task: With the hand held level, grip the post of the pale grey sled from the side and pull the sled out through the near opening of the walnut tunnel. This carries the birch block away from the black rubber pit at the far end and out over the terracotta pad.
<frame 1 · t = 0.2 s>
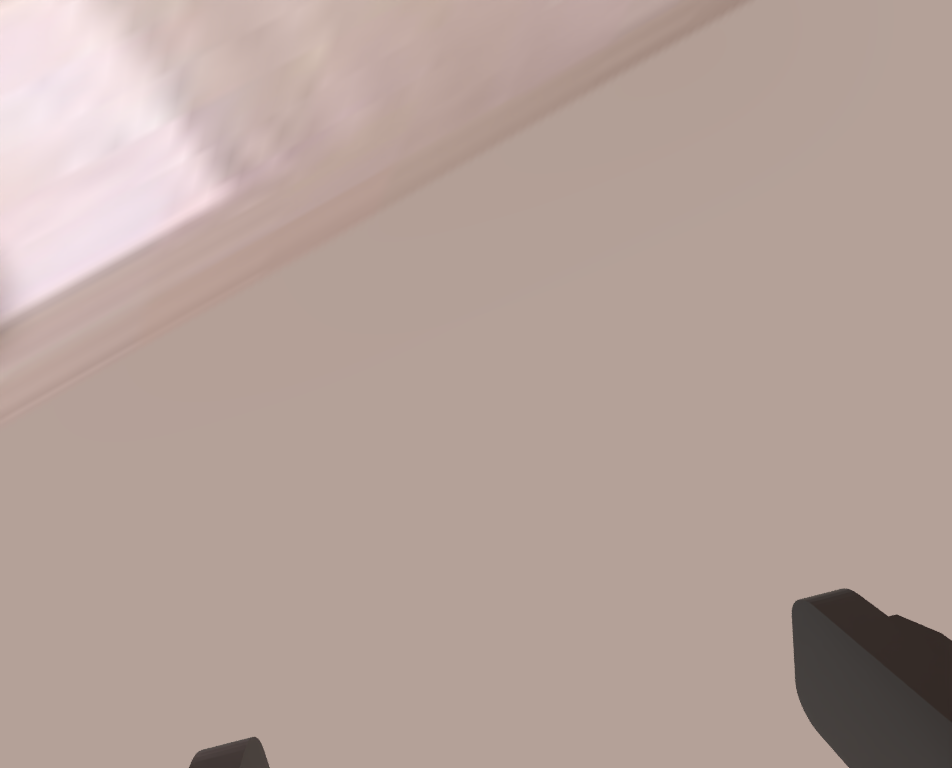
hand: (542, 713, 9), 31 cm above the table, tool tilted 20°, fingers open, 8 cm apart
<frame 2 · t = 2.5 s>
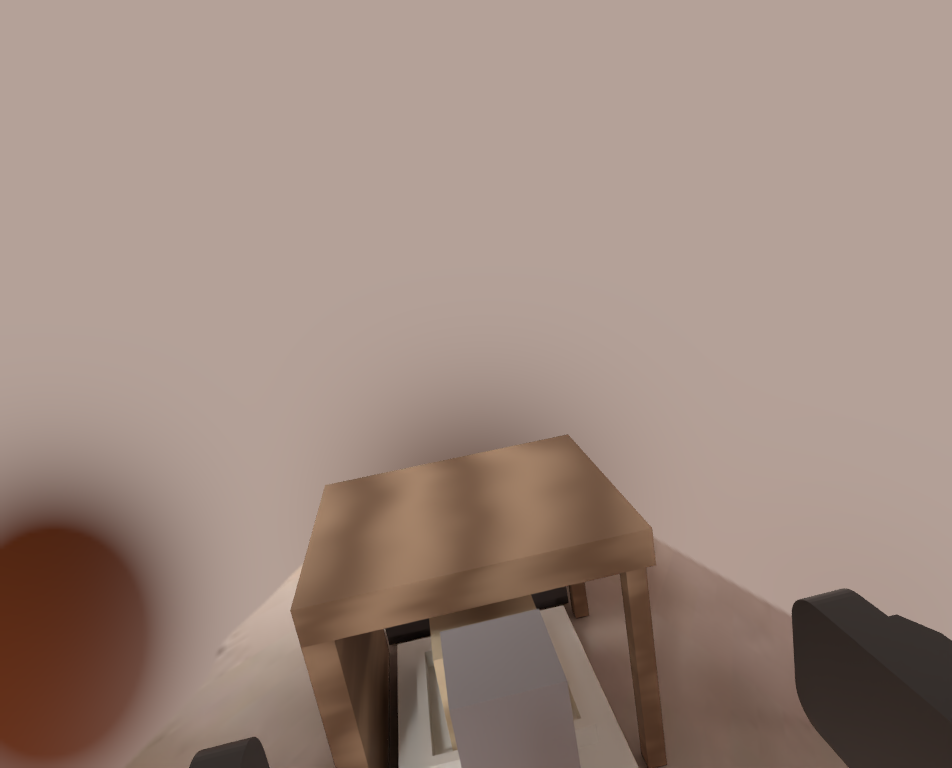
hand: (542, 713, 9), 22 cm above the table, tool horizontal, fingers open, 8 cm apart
sled: (492, 659, 31), point 7 cm above the table, slide at 0.0 cm, touching birch block
birch block: (498, 698, 35), point 2 cm above the table, touching sled
pit trap: (471, 586, 50), on the table
tunnel: (498, 702, 37), on the table
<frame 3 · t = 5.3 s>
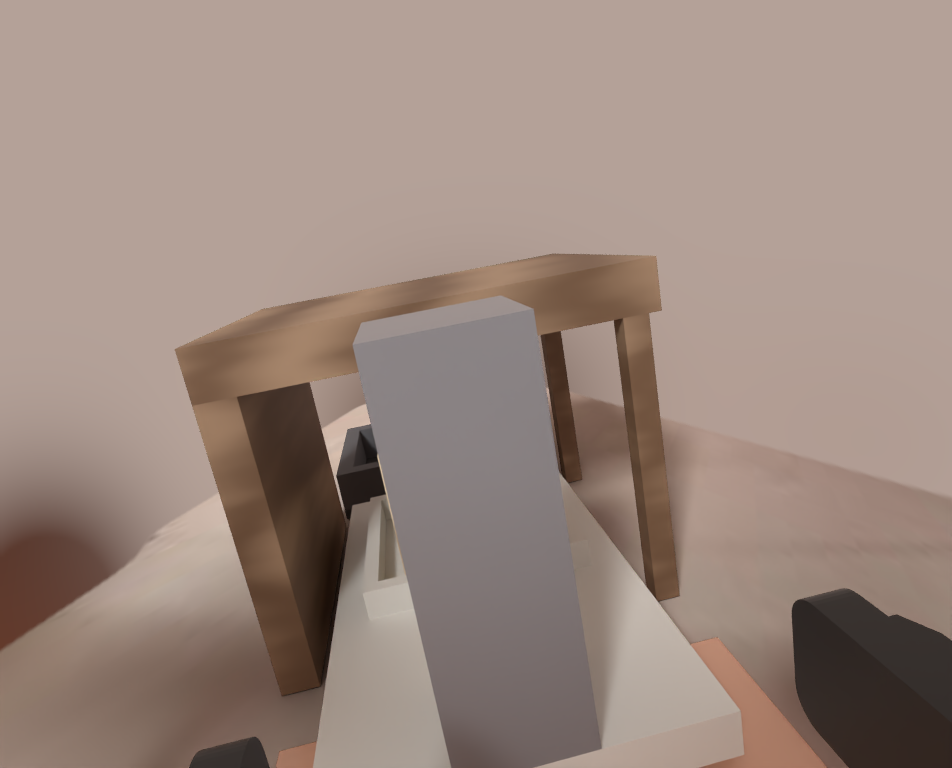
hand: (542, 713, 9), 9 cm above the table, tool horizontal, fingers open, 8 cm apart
sled: (454, 458, 24), point 7 cm above the table, slide at 0.0 cm, touching birch block
pit trap: (447, 467, 43), on the table
tunnel: (470, 556, 31), on the table
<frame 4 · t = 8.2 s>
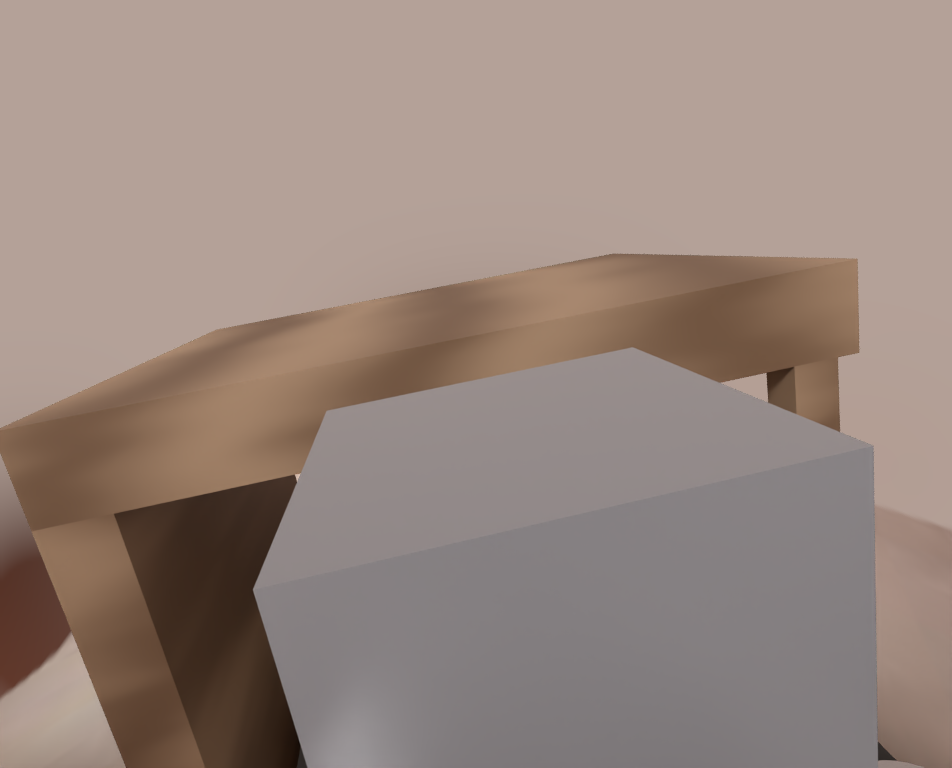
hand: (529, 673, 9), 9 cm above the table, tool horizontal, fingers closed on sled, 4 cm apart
sled: (494, 583, 15), point 7 cm above the table, slide at 0.0 cm, touching birch block, gripper
tunnel: (505, 684, 22), on the table
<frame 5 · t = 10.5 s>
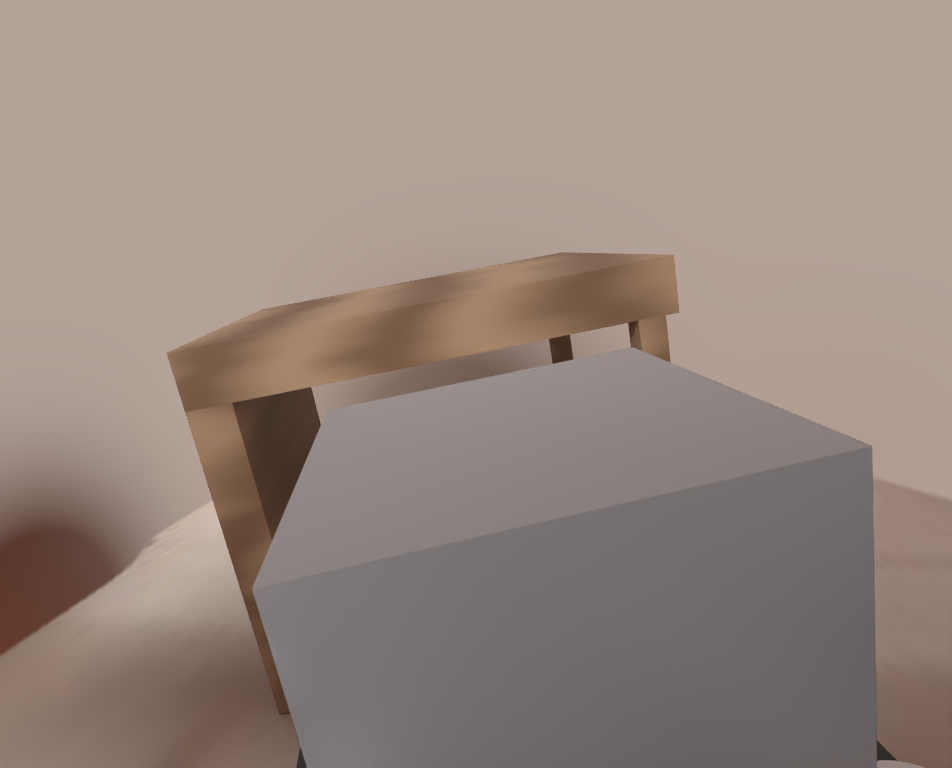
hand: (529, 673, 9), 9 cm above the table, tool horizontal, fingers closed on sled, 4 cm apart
sled: (495, 583, 15), point 7 cm above the table, slide at 8.4 cm, touching birch block, gripper
tunnel: (476, 565, 30), on the table
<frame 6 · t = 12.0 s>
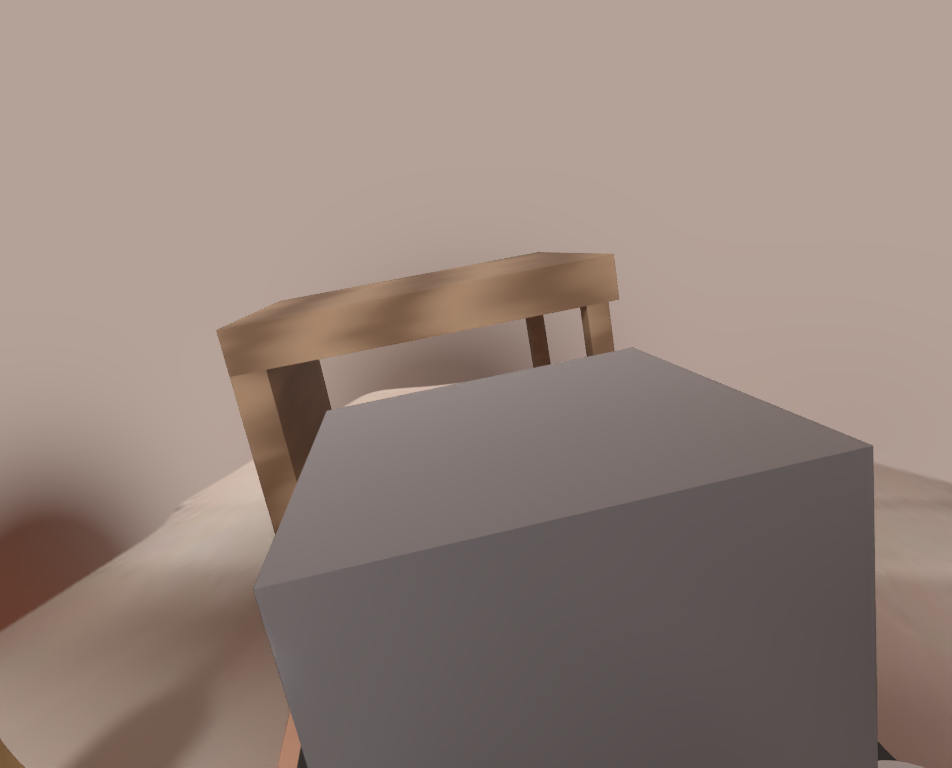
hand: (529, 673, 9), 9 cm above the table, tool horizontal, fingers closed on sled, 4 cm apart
sled: (494, 583, 15), point 7 cm above the table, slide at 13.9 cm, touching birch block, gripper
tunnel: (462, 517, 35), on the table
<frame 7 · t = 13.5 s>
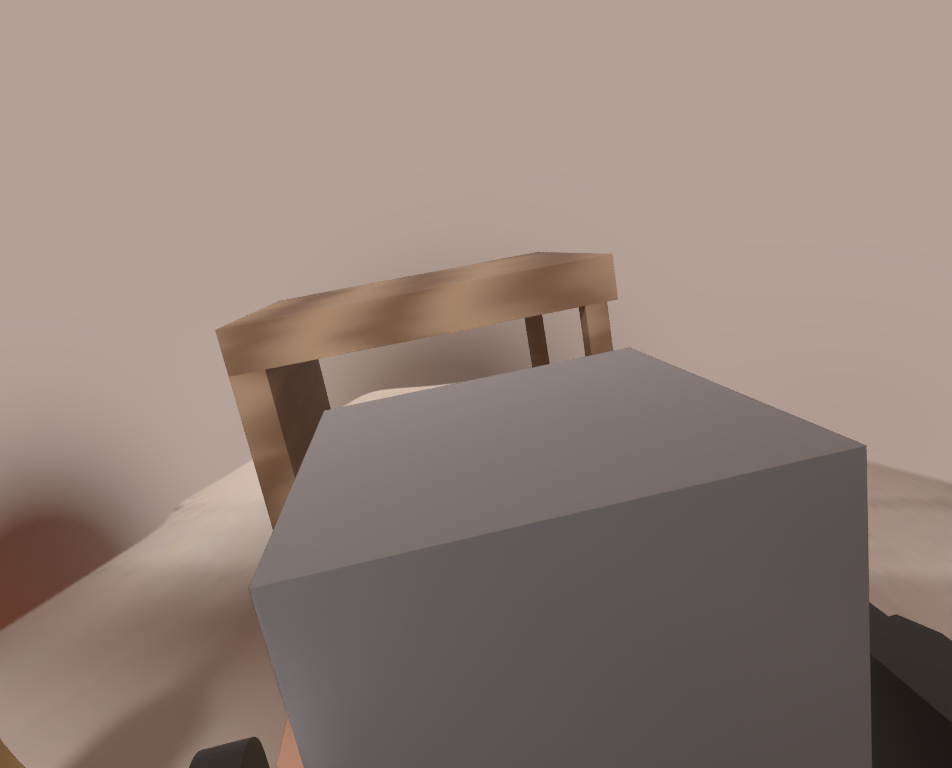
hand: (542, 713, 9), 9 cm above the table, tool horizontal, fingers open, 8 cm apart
sled: (493, 583, 15), point 7 cm above the table, slide at 14.0 cm, touching birch block
tunnel: (461, 516, 35), on the table
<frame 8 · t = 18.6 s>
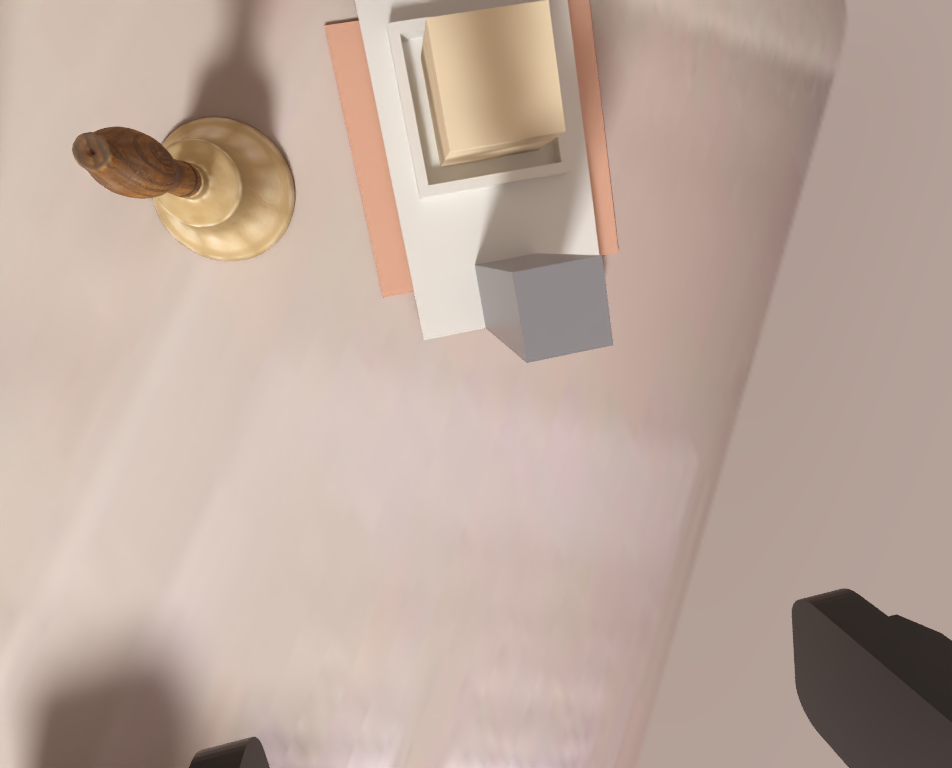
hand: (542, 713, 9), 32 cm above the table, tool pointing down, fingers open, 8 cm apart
sled: (505, 143, 30), point 7 cm above the table, slide at 14.0 cm, touching birch block
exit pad: (481, 147, 37), on the table
birch block: (480, 105, 35), point 2 cm above the table, touching sled
hand bell: (225, 191, 36), on the table
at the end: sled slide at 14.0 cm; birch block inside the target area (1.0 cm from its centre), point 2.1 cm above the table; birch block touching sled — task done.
